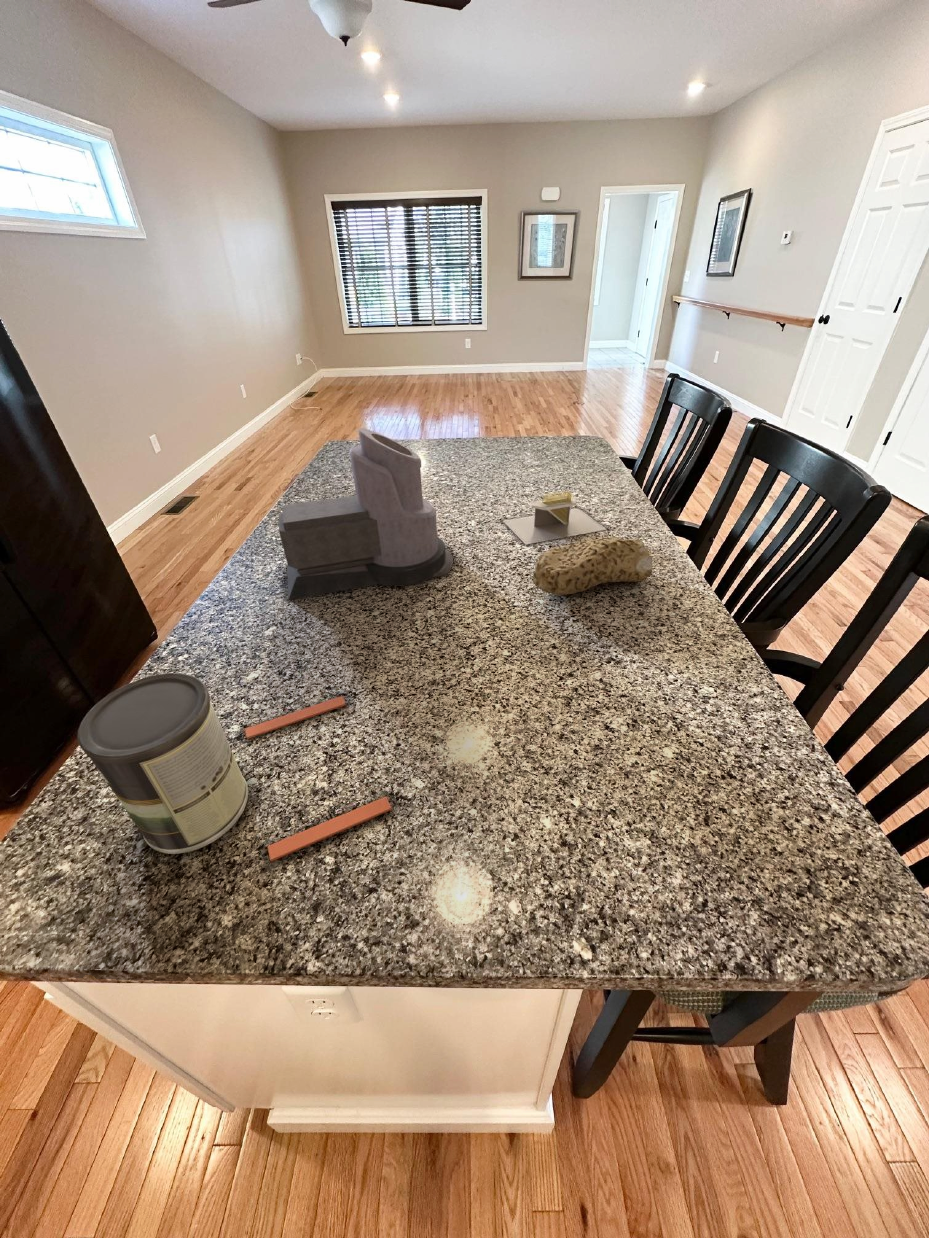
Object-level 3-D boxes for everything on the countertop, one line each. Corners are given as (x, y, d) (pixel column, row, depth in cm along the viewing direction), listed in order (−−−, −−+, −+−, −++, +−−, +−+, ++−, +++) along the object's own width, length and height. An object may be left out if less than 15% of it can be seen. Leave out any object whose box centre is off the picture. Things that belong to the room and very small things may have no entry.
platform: (606, 529, 104) (611, 498, 100) (525, 544, 100) (527, 513, 96) (577, 508, 113) (580, 479, 110) (502, 520, 109) (502, 491, 105)
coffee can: (132, 869, 48) (60, 772, 40) (151, 782, 56) (94, 686, 48) (248, 836, 50) (202, 738, 42) (250, 757, 58) (212, 662, 50)
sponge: (626, 565, 94) (522, 551, 91) (645, 530, 89) (534, 514, 86) (646, 615, 85) (531, 601, 82) (668, 580, 80) (545, 564, 77)
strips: (270, 861, 48) (270, 860, 48) (245, 730, 62) (244, 728, 62) (391, 809, 52) (391, 808, 52) (342, 697, 66) (342, 695, 66)
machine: (440, 537, 103) (432, 409, 89) (463, 575, 91) (458, 433, 77) (286, 562, 97) (252, 428, 83) (288, 606, 84) (248, 457, 70)
